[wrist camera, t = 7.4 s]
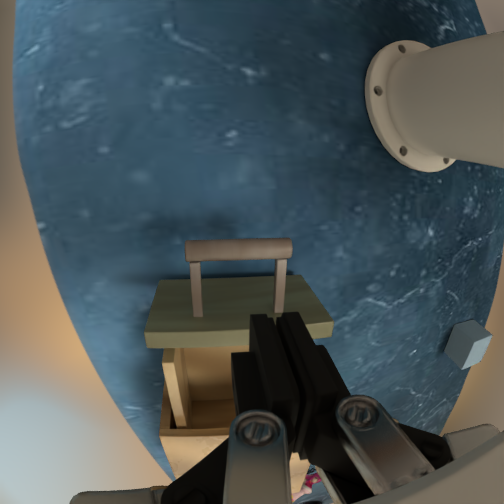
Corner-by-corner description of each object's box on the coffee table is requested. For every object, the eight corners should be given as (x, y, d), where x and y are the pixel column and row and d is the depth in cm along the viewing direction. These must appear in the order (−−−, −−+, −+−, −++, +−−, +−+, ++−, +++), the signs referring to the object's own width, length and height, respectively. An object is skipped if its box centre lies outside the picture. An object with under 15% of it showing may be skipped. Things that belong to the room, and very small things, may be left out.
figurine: (229, 516, 30) (320, 472, 32) (226, 483, 39) (302, 445, 42) (261, 544, 29) (344, 504, 32) (253, 512, 39) (324, 477, 41)
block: (473, 318, 32) (492, 334, 28) (463, 345, 34) (480, 361, 30) (454, 324, 32) (474, 342, 27) (443, 351, 33) (461, 370, 29)
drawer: (154, 219, 21) (130, 253, 14) (305, 216, 23) (345, 247, 16) (178, 397, 27) (176, 454, 20) (287, 390, 29) (306, 443, 22)
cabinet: (166, 361, 27) (158, 436, 18) (295, 354, 28) (324, 422, 20) (185, 443, 31) (186, 502, 23) (282, 436, 33) (299, 492, 25)
